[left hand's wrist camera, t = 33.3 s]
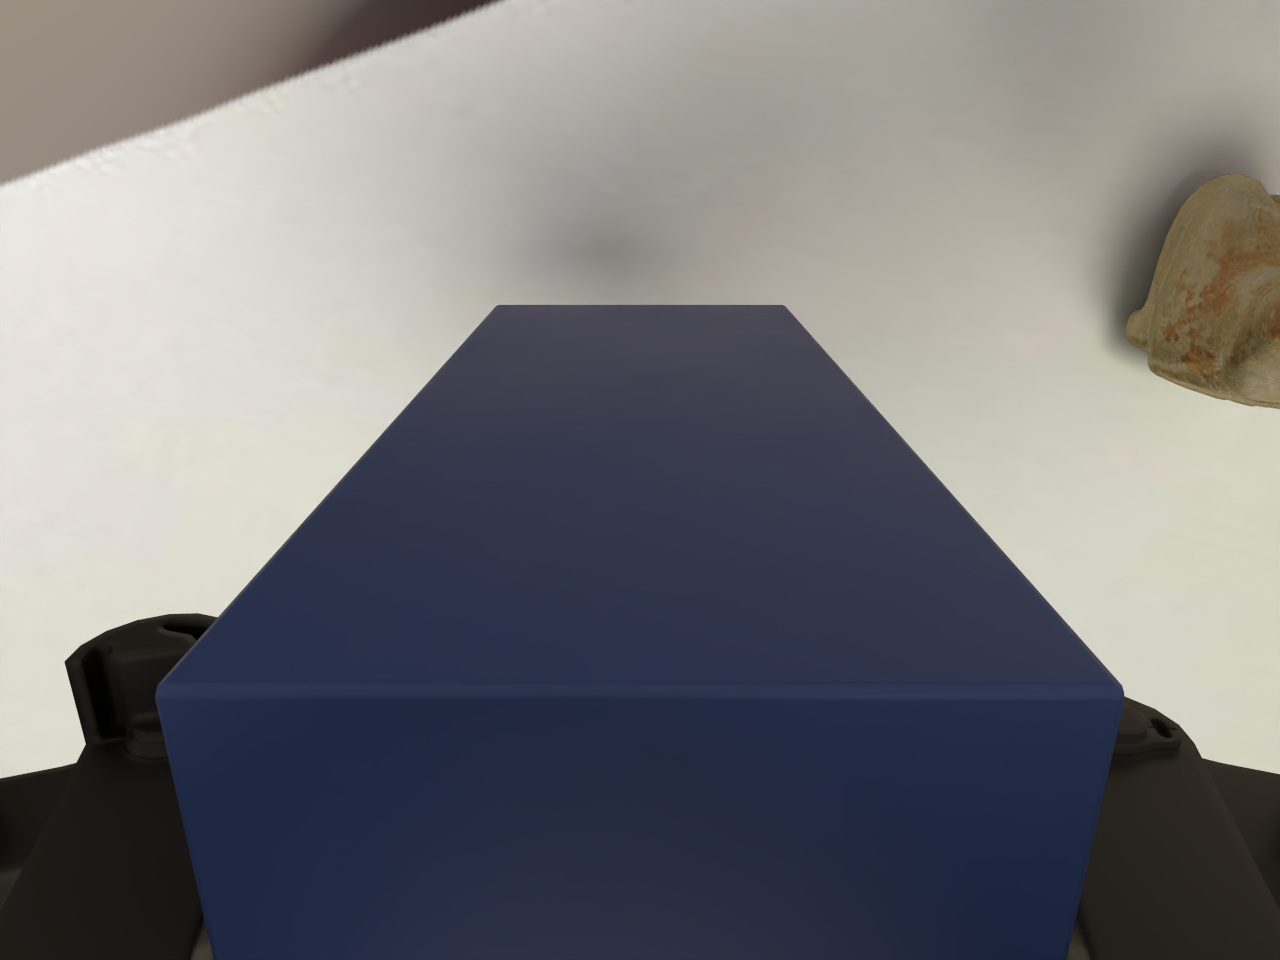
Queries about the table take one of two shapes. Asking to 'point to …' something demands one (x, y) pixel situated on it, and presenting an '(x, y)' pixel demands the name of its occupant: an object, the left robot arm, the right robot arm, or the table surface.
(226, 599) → the table surface
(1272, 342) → the sculpture
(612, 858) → the brick
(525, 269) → the table surface
